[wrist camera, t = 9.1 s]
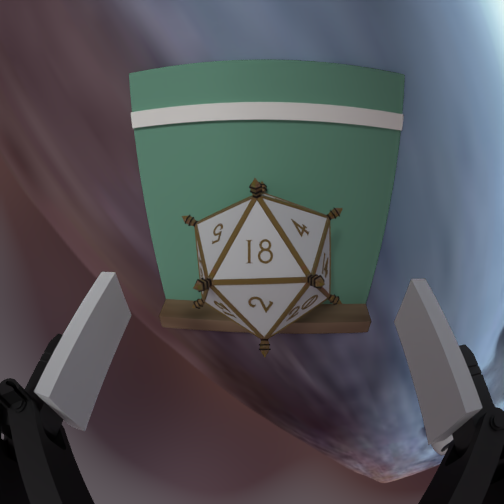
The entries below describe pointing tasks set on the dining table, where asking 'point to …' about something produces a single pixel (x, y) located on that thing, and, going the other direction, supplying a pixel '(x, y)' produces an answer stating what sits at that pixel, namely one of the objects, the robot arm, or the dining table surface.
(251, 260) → the game die
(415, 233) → the dining table surface
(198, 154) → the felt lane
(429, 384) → the robot arm
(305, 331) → the walnut backstop rail
